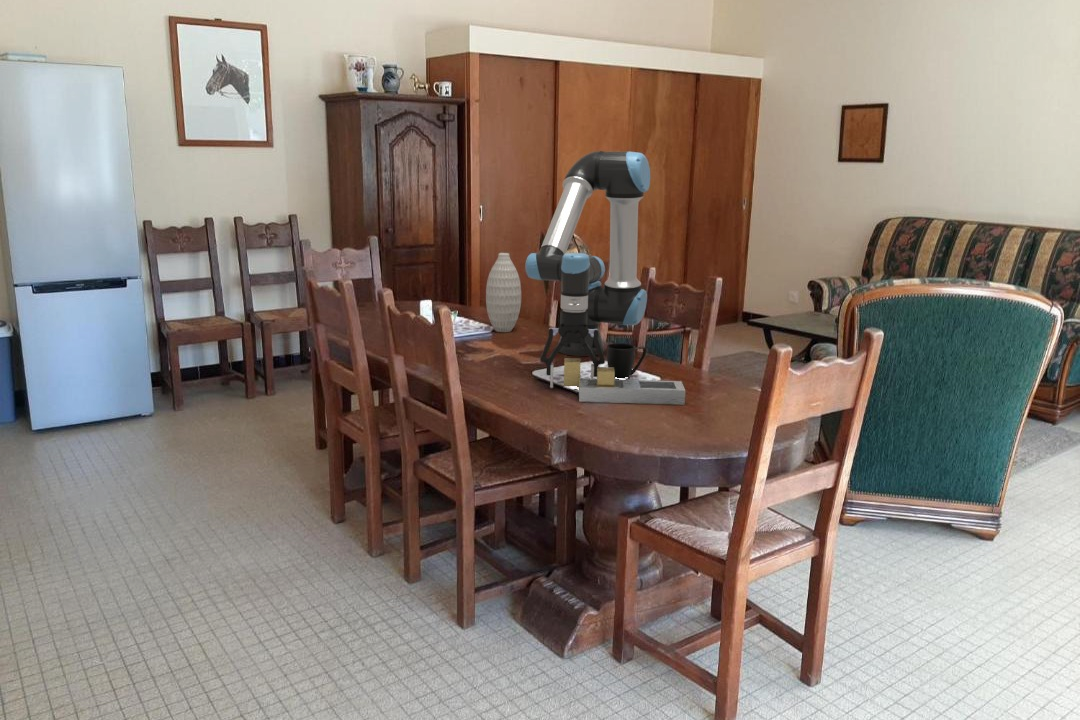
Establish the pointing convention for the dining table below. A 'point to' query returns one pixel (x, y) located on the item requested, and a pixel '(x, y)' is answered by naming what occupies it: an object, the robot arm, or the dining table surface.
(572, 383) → the yellow rectangular block
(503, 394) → the dining table surface
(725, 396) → the dining table surface
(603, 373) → the tan wooden brick
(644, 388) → the rail
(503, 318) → the vase
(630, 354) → the mug
